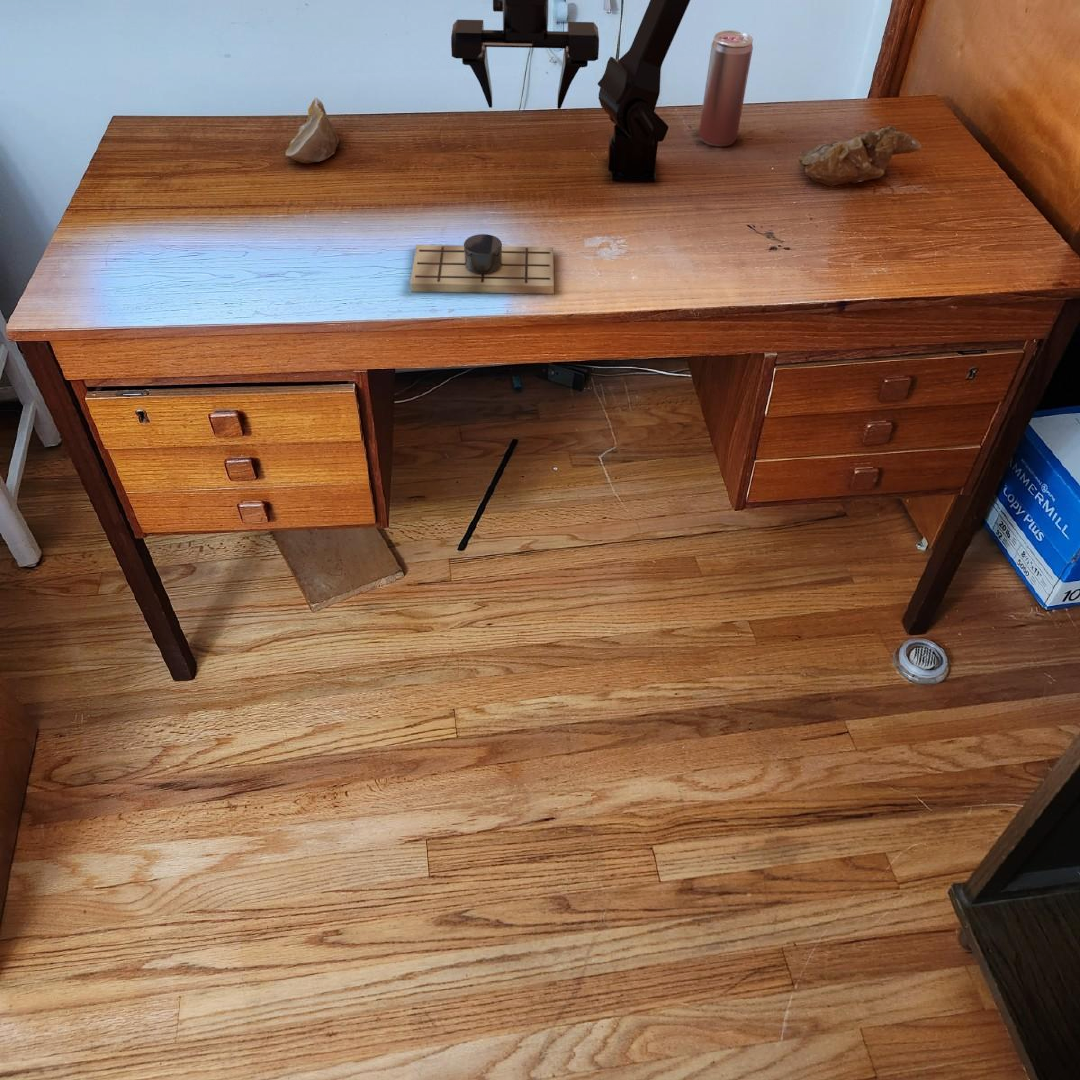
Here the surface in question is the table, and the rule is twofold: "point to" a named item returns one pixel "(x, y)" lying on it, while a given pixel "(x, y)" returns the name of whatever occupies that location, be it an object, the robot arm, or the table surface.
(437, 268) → the board
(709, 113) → the beverage can
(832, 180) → the mineral specimen
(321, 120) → the stone
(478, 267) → the dark brown cylinder
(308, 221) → the table surface
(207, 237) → the table surface
